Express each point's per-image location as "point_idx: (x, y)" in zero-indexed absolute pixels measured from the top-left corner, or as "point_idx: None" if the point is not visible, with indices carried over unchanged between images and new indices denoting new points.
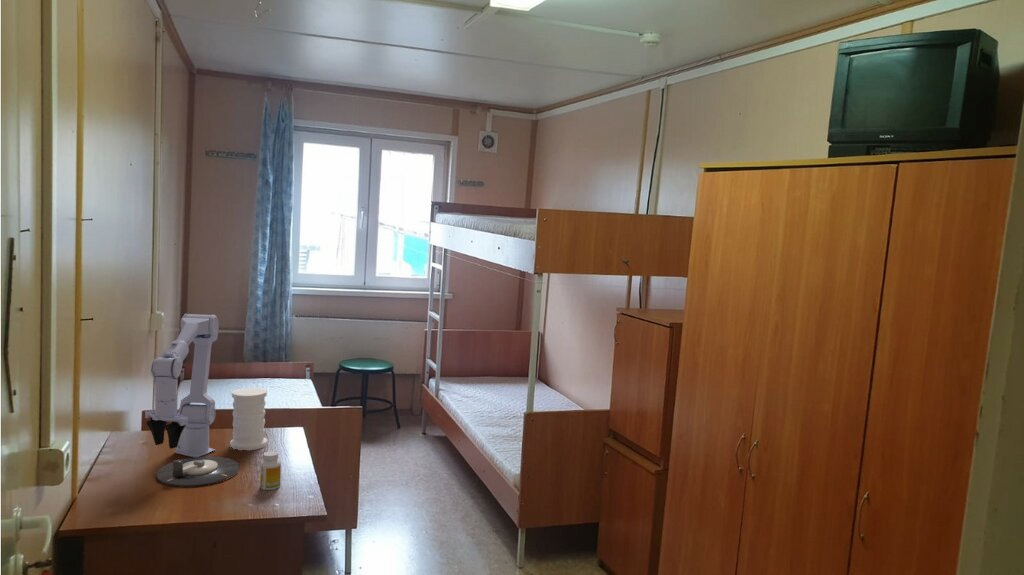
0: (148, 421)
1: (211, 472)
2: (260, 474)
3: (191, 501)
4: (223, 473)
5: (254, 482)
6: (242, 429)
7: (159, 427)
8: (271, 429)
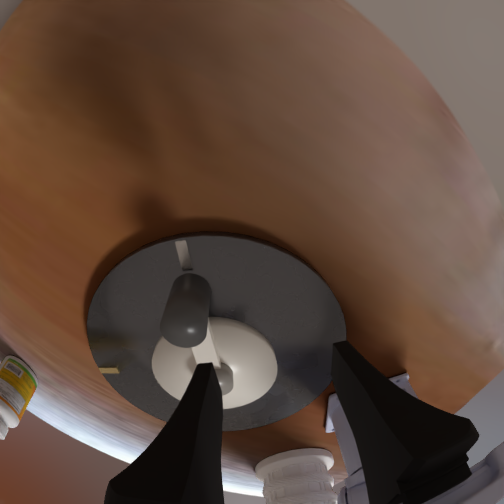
0: (467, 446)
1: None
2: (7, 381)
3: (8, 208)
4: (127, 377)
5: (55, 375)
6: (289, 495)
7: (373, 451)
8: None
